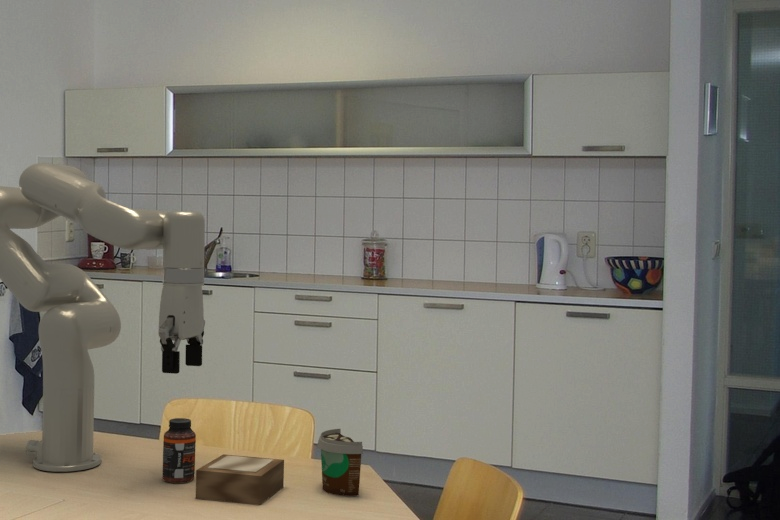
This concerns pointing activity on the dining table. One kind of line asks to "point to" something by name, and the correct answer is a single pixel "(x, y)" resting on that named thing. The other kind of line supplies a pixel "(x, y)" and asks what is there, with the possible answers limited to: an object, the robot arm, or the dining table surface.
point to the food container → (340, 463)
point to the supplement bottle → (179, 451)
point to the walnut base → (240, 479)
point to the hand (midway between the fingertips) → (182, 369)
